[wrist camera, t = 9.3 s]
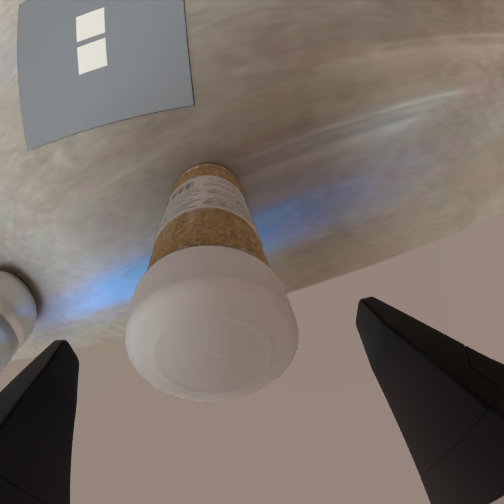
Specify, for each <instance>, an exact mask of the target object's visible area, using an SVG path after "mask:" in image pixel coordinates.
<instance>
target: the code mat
mask: <svg viewBox="0 0 504 504" xmlns="http://www.w3.org/2000/svg"><path fill="white" fill-rule="evenodd" d="M17 65H18V83H19V94H20V104H21V112H22V119H23V126H24V132H25V138H26V144H27V149H28V151H29V150H31V149H34V148H36V147H39V146H41V145H44V144H47V143H49V142H52V141H55V140H57V139H60V138H63V137H66V136H69V135H72V134H75V133H78V132H81V131H84V130H88V129H91V128H94V127H98V126H101V125H105V124H108V123H112V122H116V121H120V120H124V119H128V118H132V117H136V116H140V115H145V114H149V113H154V112H159V111H164V110H169V109H175V108H180V107H186V106H192V105H194V100H193V92H192V83H191V74H190V65H189V55H188V45H187V35H186V24H185V12H184V0H26V1H24V2H23V3H21V4H19V11H18V28H17Z"/></svg>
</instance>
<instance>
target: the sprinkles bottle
mask: <svg viewBox="0 0 504 504" xmlns="http://www.w3.org/2000/svg"><path fill="white" fill-rule="evenodd" d="M125 345H126V349H127V353H128V356H129V358H130V360H131V362H132V364H133V366H134V367H135V369H136V370H137V371H138V372H139V374H140V375H141V376H142V377H143V378H144V379H146V380H147V381H148V382H149V383H150V384H152V385H153V386H155V387H156V388H158V389H160V390H162V391H164V392H166V393H168V394H170V395H173V396H177V397H179V398H184V399H188V400H194V401H204V402H219V401H227V400H232V399H237V398H241V397H244V396H247V395H250V394H253V393H255V392H257V391H259V390H261V389H263V388H265V387H266V386H268V385H270V384H271V383H272V382H274V381H275V380H276V379H277V378H278V377H280V376H281V375H282V374H283V373H284V371H285V370H286V369H287V368H288V366H289V365H290V363H291V361H292V360H293V358H294V355H295V353H296V350H297V345H298V327H297V323H296V320H295V316H294V314H293V311H292V309H291V305H290V302H289V300H288V297H287V295H286V292H285V290H284V287H283V285H282V283H281V281H280V280H279V278H278V276H277V275H276V274H275V273H274V271H273V270H272V269H271V268H270V267H269V265H268V263H267V260H266V258H265V255H264V252H263V248H262V243H261V240H260V238H259V235H258V233H257V230H256V227H255V225H254V222H253V220H252V217H251V215H250V212H249V210H248V207H247V204H246V202H245V199H244V197H243V195H242V192H241V187H240V184H239V182H238V181H237V179H236V178H235V176H234V175H233V174H232V173H231V172H230V171H229V170H227V169H226V168H224V167H222V166H220V165H216V164H199V165H195V166H192V167H191V168H189V169H188V170H186V171H185V172H184V173H183V174H182V175H180V176H179V178H178V179H177V181H176V183H175V185H174V187H173V190H172V195H171V197H170V199H169V202H168V204H167V207H166V209H165V212H164V215H163V217H162V220H161V222H160V225H159V228H158V231H157V234H156V237H155V240H154V244H153V248H152V255H151V259H150V262H149V267H148V270H147V271H146V272H145V274H144V275H143V276H142V278H141V279H140V281H139V283H138V285H137V287H136V290H135V292H134V296H133V299H132V303H131V307H130V311H129V315H128V320H127V325H126V330H125Z"/></svg>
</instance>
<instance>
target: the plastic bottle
mask: <svg viewBox="0 0 504 504" xmlns="http://www.w3.org/2000/svg"><path fill="white" fill-rule="evenodd" d="M36 318H37V311H36V304H35V300H34V298H33V295H32V294H31V292H30V290H29V289H28V287H27V286H26V285H25V284H24V283H23V282H22V281H21V280H20V279H19V278H18V277H16V276H15V275H13V274H11V273H9V272H5V271H0V376H1V374H2V372H3V371H4V369H5V368H6V366H7V365H8V363H9V361H10V360H11V358H12V357H13V355H14V354H15V352H16V351H17V350H18V349H19V348H20V347H21V346H22V345H23V344H24V343H25V341H26V340H27V339H28V338H29V336H30V335H31V333H32V331H33V328H34V325H35V322H36Z"/></svg>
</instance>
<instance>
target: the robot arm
mask: <svg viewBox="0 0 504 504" xmlns="http://www.w3.org/2000/svg"><path fill="white" fill-rule="evenodd" d="M356 326H357V329H358V332H359V334H360V337H361V340H362V343H363V345H364V348H365V351H366V354H367V357H368V360H369V362H370V365H371V368H372V370H373V372H374V374H375V376H376V378H377V380H378V382H379V384H380V387H381V389H382V391H383V393H384V395H385V397H386V399H387V401H388V403H389V406H390V408H391V410H392V412H393V414H394V417H395V419H396V421H397V423H398V425H399V428H400V430H401V432H402V434H403V437H404V439H405V441H406V444H407V446H408V448H409V451H410V453H411V455H412V458H413V460H414V462H415V465H416V467H417V469H418V472H419V474H420V476H421V480H422V482H423V485H424V487H425V490H426V492H427V495H428V498H429V500H430V503H431V504H504V364H502V363H499V362H497V361H495V360H493V359H490V358H488V357H487V356H485V355H483V354H481V353H479V352H477V351H475V350H473V349H471V348H469V347H467V346H465V345H463V344H462V343H460V342H458V341H456V340H454V339H452V338H451V337H449V336H447V335H445V334H443V333H441V332H439V331H437V330H436V329H434V328H432V327H430V326H428V325H426V324H424V323H422V322H420V321H418V320H417V319H415V318H413V317H411V316H409V315H407V314H405V313H403V312H401V311H399V310H398V309H396V308H394V307H392V306H390V305H388V304H386V303H384V302H382V301H380V300H378V299H376V298H374V297H368V298H363V299H361V300H360V301H359V304H358V310H357V317H356ZM78 372H79V360H78V358H77V356H76V354H75V353H74V351H73V349H72V348H71V346H70V344H69V343H68V342H67V341H66V340H56V341H54V342H53V343H52V344H51V345H49V346H48V347H47V348H46V349H45V350H44V351H43V352H42V353H41V354H40V355H38V356H37V357H36V358H35V359H34V360H33V361H32V362H31V363H30V364H29V365H28V366H27V367H26V368H25V369H24V370H22V371H21V372H20V373H19V374H18V375H17V376H16V377H15V378H14V379H13V380H12V381H11V382H10V383H9V384H8V385H7V386H6V387H5V388H4V389H3V390H2V391H1V392H0V504H70V472H71V454H72V453H71V452H72V441H73V431H74V430H73V429H74V422H75V413H76V404H77V386H78Z"/></svg>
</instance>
